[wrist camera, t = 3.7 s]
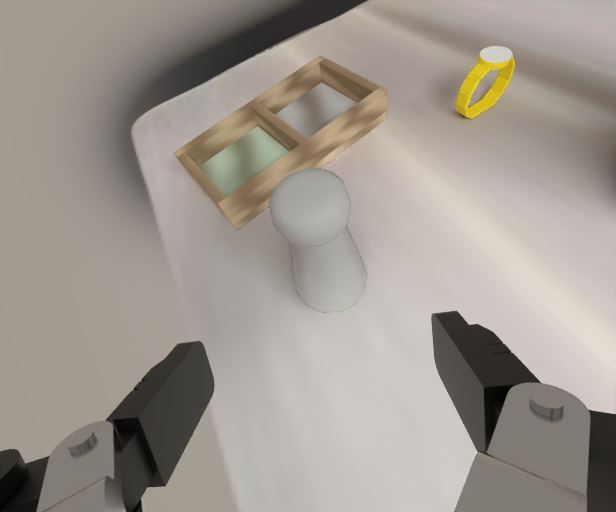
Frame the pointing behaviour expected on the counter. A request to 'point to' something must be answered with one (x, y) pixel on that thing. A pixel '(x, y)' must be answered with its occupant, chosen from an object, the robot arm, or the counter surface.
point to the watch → (486, 61)
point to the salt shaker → (319, 239)
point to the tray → (282, 136)
